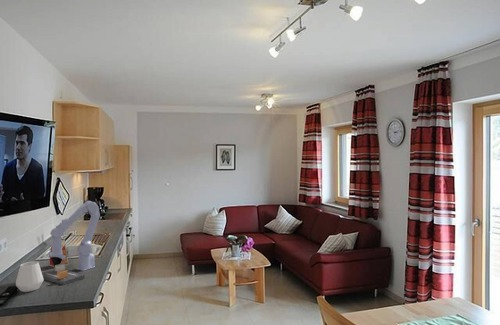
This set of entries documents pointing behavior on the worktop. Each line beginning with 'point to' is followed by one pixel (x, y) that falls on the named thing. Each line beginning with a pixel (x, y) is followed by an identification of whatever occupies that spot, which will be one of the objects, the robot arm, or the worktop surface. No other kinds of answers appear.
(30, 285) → the cup
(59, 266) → the block
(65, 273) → the fader orange
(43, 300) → the worktop surface
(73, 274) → the mixing panel
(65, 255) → the milk carton
